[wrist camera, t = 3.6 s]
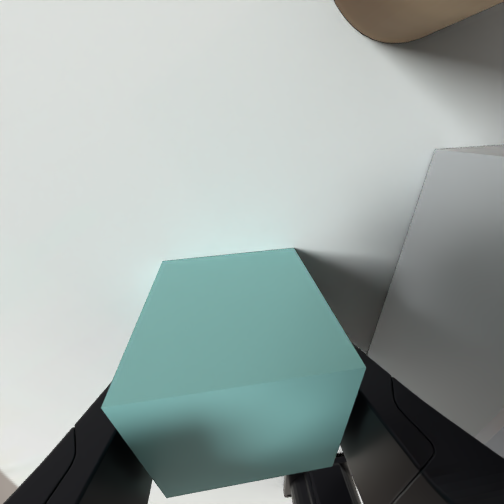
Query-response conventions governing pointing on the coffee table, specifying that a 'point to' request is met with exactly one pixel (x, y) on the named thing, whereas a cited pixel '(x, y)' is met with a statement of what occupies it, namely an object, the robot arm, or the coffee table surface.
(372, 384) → the robot arm
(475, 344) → the tote
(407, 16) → the walnut canister
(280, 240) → the coffee table surface
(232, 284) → the teal cube
